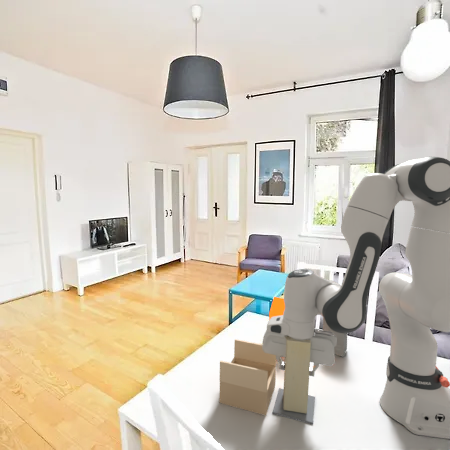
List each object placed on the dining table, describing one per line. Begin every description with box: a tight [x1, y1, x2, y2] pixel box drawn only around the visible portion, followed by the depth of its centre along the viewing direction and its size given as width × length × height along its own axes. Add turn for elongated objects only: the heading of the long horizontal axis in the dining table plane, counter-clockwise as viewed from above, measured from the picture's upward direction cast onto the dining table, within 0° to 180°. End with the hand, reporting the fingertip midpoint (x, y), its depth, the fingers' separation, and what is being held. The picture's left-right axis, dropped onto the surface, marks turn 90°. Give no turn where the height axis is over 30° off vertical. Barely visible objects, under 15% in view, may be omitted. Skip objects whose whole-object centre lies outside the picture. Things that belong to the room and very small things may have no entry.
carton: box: [219, 338, 277, 416], centre depth 91 cm, size 14×14×13 cm
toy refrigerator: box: [283, 336, 311, 413], centre depth 86 cm, size 8×7×21 cm
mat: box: [272, 387, 316, 425], centre depth 87 cm, size 11×11×1 cm
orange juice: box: [268, 296, 285, 321], centre depth 120 cm, size 8×9×20 cm
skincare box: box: [322, 317, 348, 357], centre depth 117 cm, size 8×7×16 cm
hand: (296, 371), depth 86 cm, fingers closed on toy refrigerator, 7 cm apart
